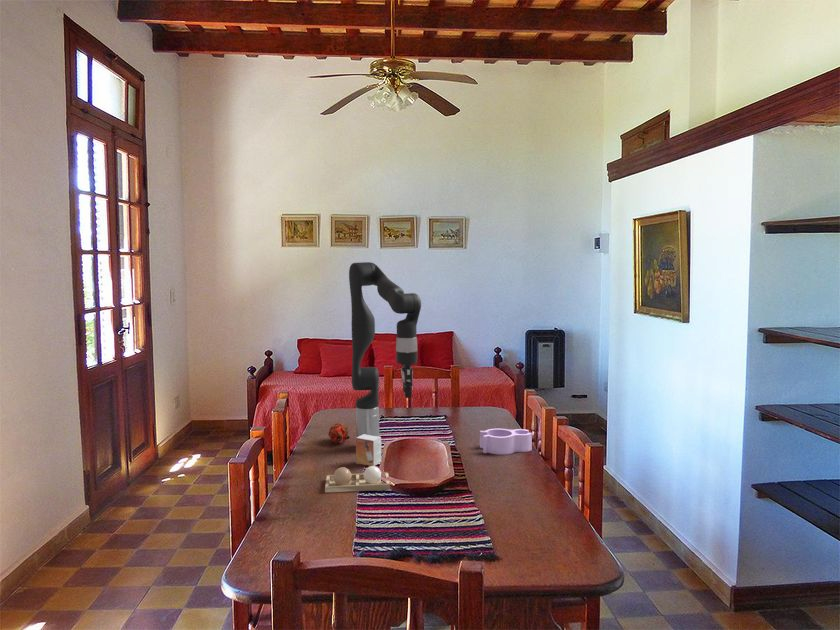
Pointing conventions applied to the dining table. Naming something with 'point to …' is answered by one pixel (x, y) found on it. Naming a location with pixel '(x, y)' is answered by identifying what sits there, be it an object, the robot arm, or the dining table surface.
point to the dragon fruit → (338, 433)
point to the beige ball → (342, 476)
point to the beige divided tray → (355, 484)
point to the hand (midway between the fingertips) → (407, 394)
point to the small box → (368, 450)
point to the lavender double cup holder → (505, 441)
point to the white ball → (372, 475)
